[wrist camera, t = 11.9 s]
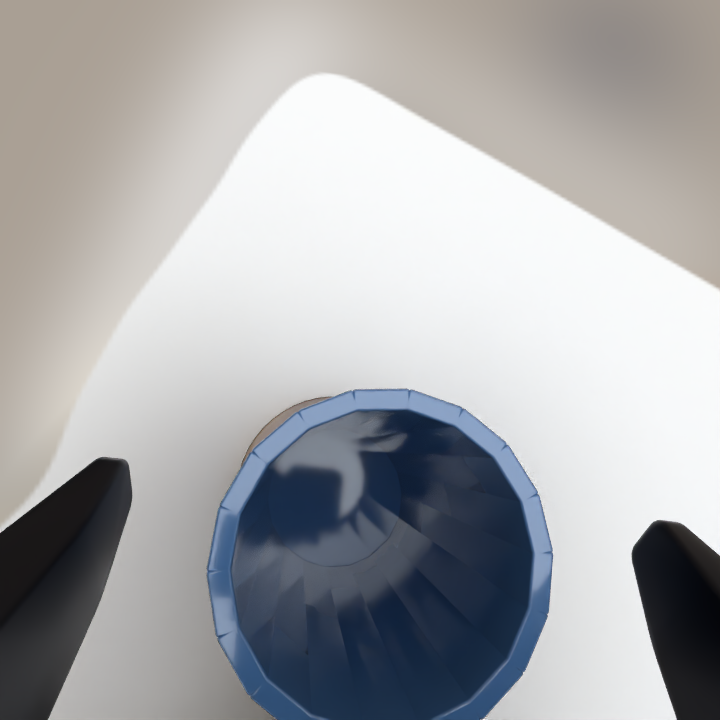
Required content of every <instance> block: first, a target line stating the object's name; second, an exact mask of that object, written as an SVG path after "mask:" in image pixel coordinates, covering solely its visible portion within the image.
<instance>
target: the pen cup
mask: <svg viewBox="0 0 720 720" xmlns="http://www.w3.org/2000/svg"><path fill="white" fill-rule="evenodd" d="M552 551H553V550H552V545H551V541H550V537H549V533H548V529H547V525H546V521H545V517H544V513H543V509H542V505H541V500H540V496H539V495H538V492H537V490H536V488H535V487H534V485H533V483H532V482H531V480H530V479H529V477H528V475H527V474H526V472H525V471H524V469H523V467H522V466H521V464H520V463H519V461H518V459H517V458H516V456H515V455H514V453H513V451H512V450H511V448H510V447H509V445H506V442H505V441H504V440H503V439H501V438H500V437H499V436H498V435H496V434H495V433H494V432H493V431H491V430H490V429H489V428H488V427H487V426H485V425H484V424H483V423H482V422H480V421H479V420H478V419H477V418H475V417H474V416H473V415H472V414H470V413H469V412H468V411H467V410H466V409H462V407H460V406H457V405H455V404H452V403H449V402H446V401H443V400H440V399H438V398H435V397H432V396H429V395H426V394H423V393H420V392H418V391H415V390H409V389H355V390H353V391H352V390H350V391H347V392H344V393H342V394H339V395H337V396H334V397H331V398H329V399H326V400H323V401H321V402H318V403H316V404H313V405H310V406H308V407H305V408H302V409H300V410H299V411H298V412H295V413H294V414H293V415H292V416H290V417H289V418H288V419H287V420H286V421H285V422H283V423H282V424H281V425H280V426H279V427H278V428H276V429H275V430H274V431H273V432H272V433H271V434H269V435H268V436H267V437H266V438H265V439H264V440H262V441H261V442H260V443H259V444H258V445H257V446H255V447H254V448H253V449H252V452H250V453H249V454H248V456H247V458H246V460H245V461H244V463H243V465H242V466H241V468H240V470H239V472H238V473H237V475H236V477H235V479H234V480H233V482H232V484H231V485H230V487H229V489H228V491H227V492H226V494H225V496H224V498H223V499H222V501H221V503H220V507H219V508H218V511H217V517H216V522H215V527H214V532H213V537H212V543H211V548H210V553H209V558H208V564H207V574H206V575H207V581H208V588H209V594H210V601H211V608H212V614H213V621H214V627H215V634H216V636H217V637H218V638H217V639H218V642H219V644H220V646H221V648H222V649H223V651H224V653H225V655H226V657H227V658H228V660H229V662H230V664H231V666H232V667H233V669H234V671H235V673H236V675H237V676H238V678H239V680H240V682H241V684H242V685H243V687H244V689H245V691H246V693H247V694H248V695H250V697H251V699H252V700H254V701H255V702H256V703H257V704H258V705H260V706H261V707H262V708H263V709H265V710H266V711H267V712H268V713H269V714H271V715H272V716H273V717H274V718H275V719H277V720H480V719H484V718H485V716H486V715H487V714H488V713H489V712H490V711H491V710H492V709H493V708H494V706H495V705H496V704H497V703H498V702H499V701H500V700H501V699H502V697H503V696H504V695H505V694H506V693H507V692H508V691H509V690H510V688H511V687H512V686H513V685H514V684H515V683H516V682H517V681H518V680H519V678H520V677H521V676H522V675H523V672H524V671H525V670H526V668H527V665H528V663H529V660H530V658H531V656H532V653H533V651H534V648H535V646H536V644H537V641H538V639H539V636H540V634H541V632H542V629H543V627H544V624H545V622H546V620H547V617H548V615H547V614H548V613H549V602H550V589H551V576H552V562H553V553H552Z"/></svg>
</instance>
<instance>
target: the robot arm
mask: <svg viewBox="0 0 720 720" xmlns="http://www.w3.org/2000/svg"><path fill="white" fill-rule="evenodd" d="M131 502H132V486H131V478H130V471H129V465H128V462H127V461H126V460H124V459H118V458H109V457H101V458H98V459H96V460H95V461H93V462H92V463H91V464H89V465H88V466H87V467H86V468H84V469H83V470H82V471H80V472H79V473H78V474H76V475H75V476H74V477H72V478H71V479H70V480H69V481H67V482H66V483H65V484H63V485H62V486H61V487H59V488H58V489H57V490H56V491H54V492H53V493H52V494H50V495H49V496H48V497H46V498H45V499H44V500H43V501H41V502H40V503H39V504H37V505H36V506H35V507H33V508H32V509H31V510H30V511H28V512H27V513H26V514H24V515H23V516H22V517H20V518H19V519H18V520H17V521H15V522H14V523H13V524H11V525H10V526H9V527H7V528H6V529H5V530H4V531H2V532H1V533H0V720H48V718H49V716H50V714H51V711H52V709H53V707H54V705H55V702H56V700H57V698H58V696H59V693H60V691H61V689H62V687H63V684H64V682H65V680H66V678H67V675H68V673H69V671H70V669H71V666H72V664H73V662H74V660H75V657H76V655H77V653H78V651H79V648H80V646H81V644H82V642H83V639H84V637H85V635H86V633H87V630H88V628H89V626H90V624H91V621H92V619H93V617H94V615H95V612H96V610H97V607H98V605H99V602H100V600H101V597H102V594H103V591H104V588H105V585H106V582H107V579H108V576H109V573H110V570H111V567H112V564H113V560H114V557H115V554H116V551H117V548H118V545H119V542H120V538H121V535H122V532H123V529H124V526H125V523H126V520H127V516H128V513H129V510H130V507H131ZM632 563H633V567H634V571H635V575H636V580H637V584H638V588H639V592H640V597H641V601H642V605H643V609H644V613H645V618H646V622H647V626H648V630H649V634H650V638H651V642H652V646H653V649H654V652H655V655H656V659H657V662H658V665H659V668H660V671H661V674H662V677H663V680H664V682H665V685H666V688H667V691H668V694H669V697H670V700H671V703H672V706H673V709H674V712H675V715H676V718H677V720H720V556H719V555H718V554H717V553H716V552H715V551H714V550H712V549H711V548H710V547H709V546H708V545H706V544H705V543H704V542H703V541H702V540H701V539H699V538H698V537H697V536H696V535H695V534H694V533H692V532H691V531H690V530H689V529H688V528H687V527H685V526H684V525H682V524H681V523H678V522H672V521H663V520H657V521H655V522H653V523H652V524H651V525H650V526H649V527H648V529H647V530H646V531H645V533H644V534H643V535H642V536H641V538H640V539H639V540H638V541H637V543H636V544H635V545H634V547H633V550H632Z"/></svg>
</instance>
